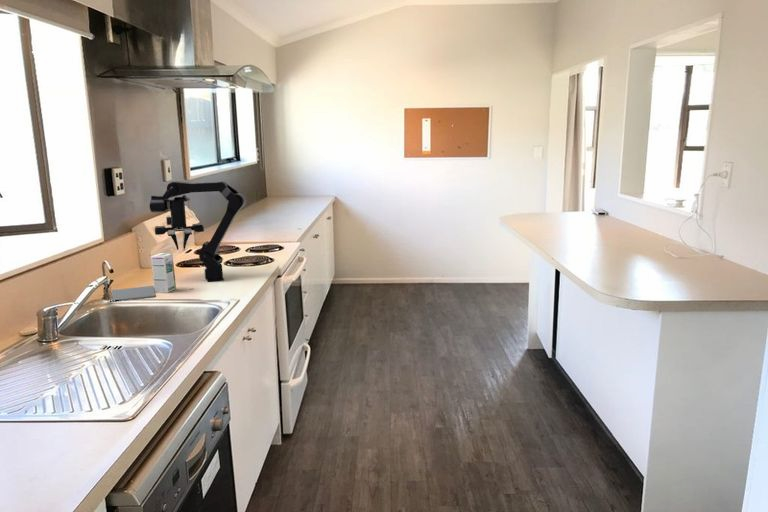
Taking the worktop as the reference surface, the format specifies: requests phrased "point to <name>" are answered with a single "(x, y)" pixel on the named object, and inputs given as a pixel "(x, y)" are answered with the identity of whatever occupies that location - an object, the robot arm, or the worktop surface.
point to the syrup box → (163, 272)
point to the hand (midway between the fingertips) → (181, 249)
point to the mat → (133, 293)
